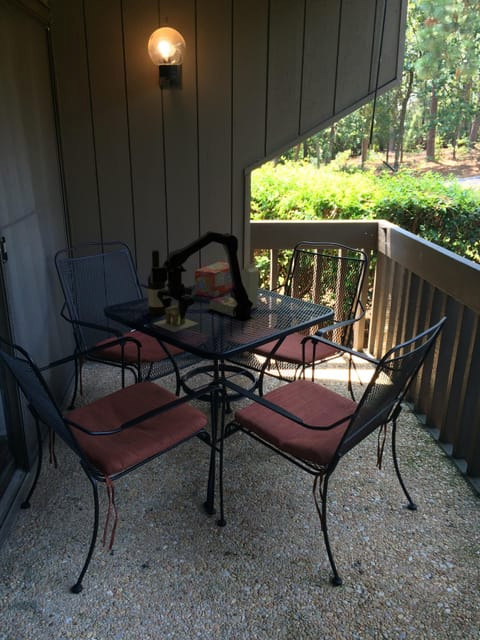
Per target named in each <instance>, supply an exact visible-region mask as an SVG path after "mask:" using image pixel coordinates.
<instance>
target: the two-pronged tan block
mask: <svg viewBox="0 0 480 640" xmlns="http://www.w3.org/2000/svg"><path fill="white" fill-rule="evenodd" d="M165 311H166V314H165V319H166V323H167V324H170V323H171V318H172V326H178V321H179V320H178V316H179V317H180V323H181V324H185V319H186V316H185V317H184V319H181V315H180V311H179V307H178V305H171V307H168V308H165Z"/></svg>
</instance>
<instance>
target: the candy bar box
mask: <svg viewBox="0 0 480 640" xmlns="http://www.w3.org/2000/svg"><path fill="white" fill-rule="evenodd" d="M236 307H237V303H236V301H235V300H234V299H233V298H232V297H231V296H227V295H224V296H221V297H215V298H212V299H210V300H209V309H210V310H212V311H216V312H218V313H221V314H224V315H227V316H231V317H233V318H234V317H235V316H236Z"/></svg>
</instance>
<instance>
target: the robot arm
mask: <svg viewBox="0 0 480 640" xmlns="http://www.w3.org/2000/svg"><path fill="white" fill-rule="evenodd" d="M211 243H217V244H221V245H222V247H223V250H224V252H225V253H226V257H227V263H229V268H230V273H231V278H232V283H233V285H232V288H229V290H230V291H229V292H230V296H229V297H231V298H233V299H234V300H235V301H236V303H237V307H236V316H234V317H233V319H236V320H239V321H242V322H246V321H248V320H251V318H252V319H253V318H254V317H253V316H252V309H251V308H252V305H253V303H252V302H251V301H250V300H249V299H248V295H247V292H246V290H245V288H244V286H243V284H242V279H241V270H240V264H239V263H240V262H239V260H238V258H239V257H238V250H239V241H238V237H236V236H235V235H233V234H231V233H230V232H225V233H219V232H214V231H212V230H208V231H206V233H205V234H203V235H202V236H200V237H198V238H197V239H195V240H194V241H192V242H190V243H189V244H187V245H186V246H184V247H181V248H178V249H175V250H173V251H171V252H169V253H168V254H167V255H166V260H165V262H164V263H163V264H162V266H161V267H160V266H159V267H152V266H151V267H150V273H151V274H150V273H149V275H150V279H151V283H165V287H168V289H166V288H165V290H161V291H158V293H157V298H159V300H160V301H161V302H162V304H163V306H164V308H168V307H171V306H172V301H173V300H174V301H175V300H176V301H178V302H177V303H178V305H177V306H178V307H179V311H180V314H179V316H180V315H181V319H184V317H185V318H186V313H187V310H188V308H189V307H190V306H193V305H195V298H194V297H193V296H192V294H193V288H190V287H187V286H185V284H184V283H183V277H182V276H183V274H182V273H184V272H185V273H186V272H187V269H186V268H185V267H184V266H183V264H185V263H186V262H187V261H188V259H189V258H190V257H191V256H192V255H194V254H195V253H198V251H200V250H202V249H204V248H205V247H206V246H209V245H210V244H211ZM167 281H168V283H166V282H167Z"/></svg>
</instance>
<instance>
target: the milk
mask: <svg viewBox="0 0 480 640" xmlns="http://www.w3.org/2000/svg"><path fill="white" fill-rule="evenodd" d="M255 265H256V264H255V263H254V262H253V263H248V264H245V268H243V269H241V270H240V273H241V279H242V284H243V286H244V288H245V290H246V292H247V295H248V299H249V300H250V301H251V302H252V303H253V305H252V308H255V309H257V308H258V302H259V300H258V299H259V297H258V296H259V295H258V293H259V273H260V272H259V269H258V268H257V267H256V266H255ZM256 307H257V308H256ZM252 308H251V310H253V309H252Z"/></svg>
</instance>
